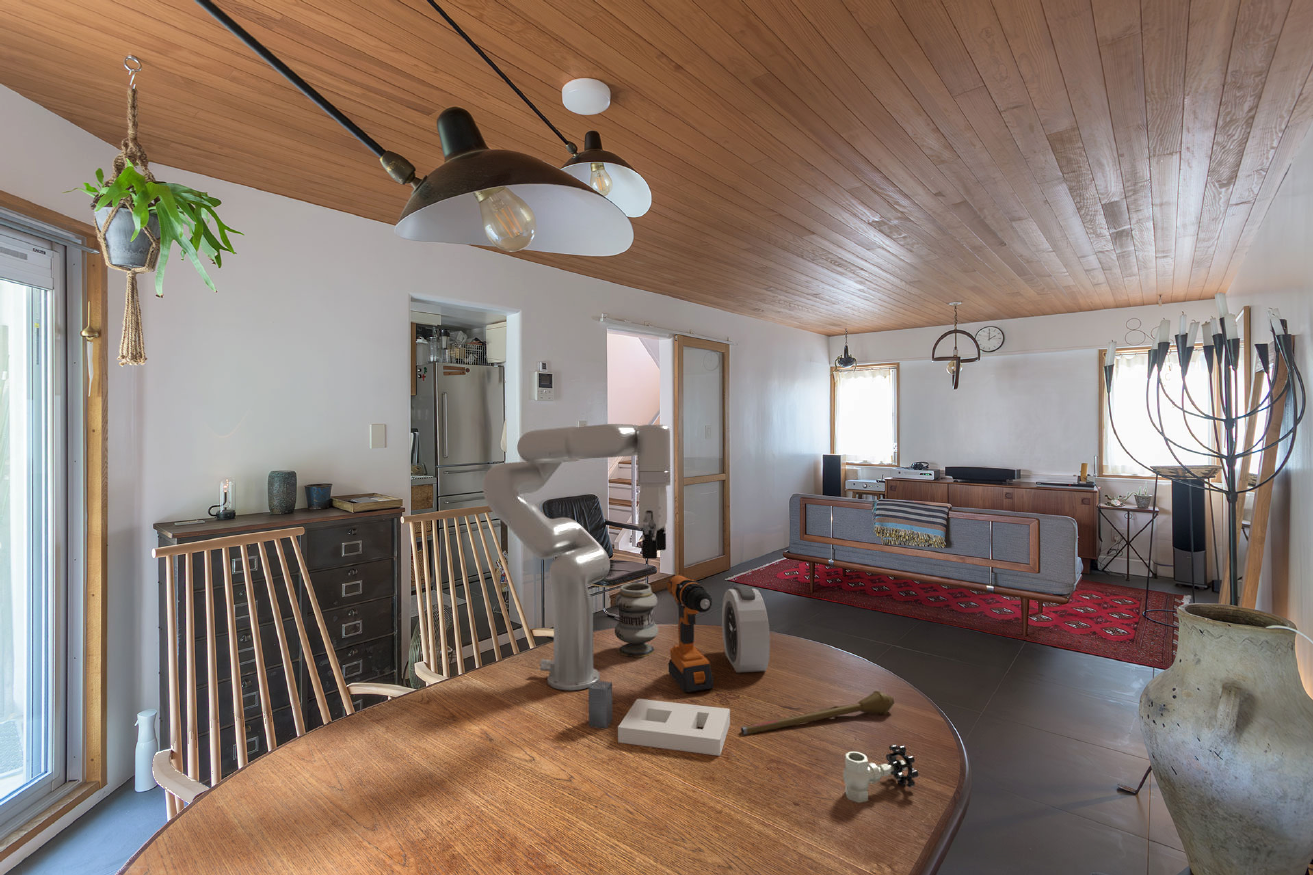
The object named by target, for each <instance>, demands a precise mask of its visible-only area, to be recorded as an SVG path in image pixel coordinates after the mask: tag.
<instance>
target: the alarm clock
mask: <svg viewBox="0 0 1313 875" xmlns="http://www.w3.org/2000/svg"><path fill="white" fill-rule="evenodd" d="M764 601H765V600H764V599H763V597H762V594H761V593H760V591H759V590H758V589H756V588H752V587H751V586H750V585H747V584H746V585H734V586H733V588H729V589H726V590H725V593H724V595H723V598H722V607H721V630H722V642H723V646H724V648H723V649H724V655H725V656H726V657H727V659H728V660H729V662H730V664H731V665H732V667H733V669H734V671H735V672H736V673H737V674H738V673H752V672H753V673H754V672H766V671H767V669H768V665H769V662H770V655H771V654H770V653H771V652H770V651H771V640H770V626H769V625H770V624H769V619H768V613H767V612H768V611H767V609H766V608H767V607H766V605H765V602H764Z"/></svg>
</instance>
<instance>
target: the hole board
mask: <svg viewBox="0 0 1313 875" xmlns="http://www.w3.org/2000/svg"><path fill="white" fill-rule="evenodd" d="M730 725H731V709H730V708H726V707H717V706H707V705H696V704H691V703H678V702H671V701H663V700H653V699H645V698H637V699H636V700H635V701H634V703H633V704H632V706H631V707H630V708H629V710H628V712H627V713H626V715H625V716H624V717H623V719H622V720H621V722H620V724H618V725H617V743H621V744H629V745H636V746H643V747H651V748H659V749H664V750H665V749H667V750H674V751H679V752H680V751H682V752H689V753H697V754H704V755H713V756H719V757H720V756H721V754H722V751H723V747H724V744H725V741H726V737H727V735H728V731H729V728H730ZM698 727H699V728H698ZM701 728H702V729H701Z"/></svg>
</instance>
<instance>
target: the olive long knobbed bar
mask: <svg viewBox="0 0 1313 875" xmlns="http://www.w3.org/2000/svg"><path fill="white" fill-rule="evenodd" d="M893 705H895V699H894V698H893V696H891V695H888V694H886V693H885V692H882V691H880V690H876V691H872V693H871V694H869V695H867V696H865V697H864V698H863V699H861V700H860V701H858V702H857V703H853V704H848V705H847V704H845V705H836V706H831V707H828V708H825V709H824V708H823V709H821V710H818V711H813V712H810V713H804V714H798V715H796V716H795V715H794V716H790V717H784V718H781V719H776V720H770V721H767V722H766V721H765V722H761V723H760V722H759V723H756V724H751V725H747V726H742V727H741V728H740V731H741V734H743V736H747V735H752V734H758V733H762V732H767V731H772V730H777V729H781V728H782V729H783V728H786V727H789V726H795V725H800V724H806V723H809V722H810V723H811V722H815V721H819V720H824V719H828V718H833V717H838V716H843V715H846V714H852V713H856V712H862V713H866V714H867V713H868V714H876V715H882V716H884V715H886V714H887V713H888V712H889V711H890V710H891V708H892V707H893Z"/></svg>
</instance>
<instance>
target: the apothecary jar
mask: <svg viewBox="0 0 1313 875" xmlns="http://www.w3.org/2000/svg"><path fill="white" fill-rule="evenodd" d="M657 603H658V598H657V596H656V594H655V593H653V590H652V586H651V585H650V584H648V583H645V582H631V583H625V584H623V585H622V586H620V591H619V592H618V594H617V595H616V597H615V599H614V604H615V607H616V608H617V609H618V623H617V624H616V625H615V627H614V635H615V636H616V637H617V639H618V640H620V641H621V642H623V643H625V644H623V645H620V647H618V653H619V654H620V655H622V656H625V657H633V658H642V657H643V658H644V657H647V656H650V654H651V655H653V653H654V652H655V648H654V646H652V645H651V644H649V642H650V641H652V640H654V639H655V638H656V637H657V635H658V634H659V627H658V625H657V624H656V623H655V620H654V608H655V607H656V606H657Z"/></svg>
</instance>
